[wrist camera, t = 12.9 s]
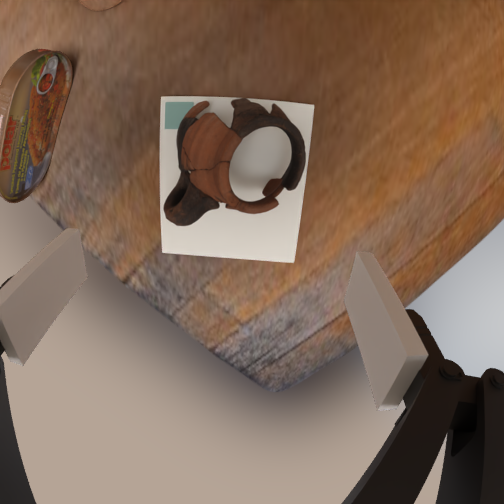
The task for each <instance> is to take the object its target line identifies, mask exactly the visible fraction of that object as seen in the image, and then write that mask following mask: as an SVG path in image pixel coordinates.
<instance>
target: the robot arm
mask: <svg viewBox="0 0 504 504" xmlns="http://www.w3.org/2000/svg"><path fill="white" fill-rule="evenodd" d="M87 278H88V276H87V270H86V265H85V260H84V255H83V249H82V243H81V237H80V230H79V229H72V228H67V229H65V230H64V231H63V232H62V233H61V234H60V235H58V236H57V237H56V238H55V239H54V240H53V241H51V242H50V243H49V244H48V245H47V246H46V247H45V248H43V249H42V250H41V251H40V252H39V253H38V254H37V255H36V256H35V257H33V258H32V259H31V260H30V261H29V262H28V263H27V264H26V265H25V266H24V267H23V268H22V269H20V271H18V272H17V273H16V274H15V275H14V276H12V277H10V278H9V279H7V280H6V281H5V282H4V283H3V284H2V286H1V287H0V504H36V502H35V499H34V497H33V494H32V491H31V488H30V485H29V482H28V479H27V476H26V473H25V469H24V466H23V462H22V459H21V455H20V452H19V447H18V443H17V439H16V435H15V431H14V426H13V421H12V417H11V411H10V405H9V399H8V393H7V386H6V378H5V370H4V362H3V359H2V357H1V355H2V353H3V352H4V350H5V352H6V354H7V356H8V358H9V360H10V361H11V362H14V363H16V364H20V365H22V366H23V365H24V364H25V362H26V361H27V359H28V358H29V356H30V355H31V353H32V352H33V350H34V349H35V347H36V346H37V345H38V343H39V342H40V340H41V339H42V337H43V336H44V335H45V333H46V332H47V330H48V329H49V328H50V326H51V325H52V323H53V322H54V320H55V319H56V318H57V316H58V315H59V314H60V313H61V311H62V310H63V309H64V307H65V306H66V305H67V303H68V302H69V300H70V299H71V298H72V297H73V296H74V294H75V293H76V292H77V290H78V289H79V288H80V286H81V285H82V284H83V283H84V282H85V280H86V279H87ZM344 303H345V306H346V309H347V312H348V315H349V318H350V321H351V324H352V327H353V330H354V333H355V336H356V340H357V343H358V346H359V349H360V352H361V356H362V359H363V362H364V365H365V369H366V372H367V376H368V379H369V383H370V386H371V390H372V393H373V397H374V401H375V404H376V408H377V410H378V411H380V410H391V409H397V407H398V406H399V404H400V402H401V401H402V399H403V400H404V403H405V406H406V408H405V410H404V411H403V413H402V414H401V416H400V417H399V418H398V420H397V421H396V423H395V427H394V428H393V430H392V432H391V433H390V435H389V437H388V438H387V440H386V441H385V443H384V445H383V446H382V448H381V449H380V451H379V452H378V454H377V455H376V457H375V458H374V460H373V461H372V463H371V465H370V466H369V467H368V469H367V470H366V472H365V473H364V475H363V476H362V477H361V479H360V480H359V481H358V483H357V484H356V486H355V487H354V488H353V490H352V491H351V492H350V494H349V495H348V496H347V497H346V499H345V500H344V501H343V503H342V504H414V502H415V500H416V498H417V497H418V495H419V493H420V491H421V489H422V487H423V485H424V483H425V481H426V479H427V477H428V475H429V473H430V471H431V469H432V467H433V464H434V462H435V460H436V458H437V456H438V453H439V451H440V449H441V446H442V444H443V441H444V439H445V437H446V434H447V441H446V450H445V456H444V463H443V469H442V475H441V481H440V486H439V491H438V495H437V500H436V504H504V373H503V372H502V371H500V370H498V369H495V368H490V369H487V370H486V371H485V372H484V373H483V375H482V376H481V378H479V377H473V376H467V375H465V374H464V372H463V370H462V369H461V367H460V366H459V365H458V364H456V363H455V362H453V361H451V360H448V359H444V356H443V355H442V353H441V351H440V349H439V347H438V345H437V344H436V342H435V340H434V338H433V336H432V335H431V332H430V331H429V329H428V328H427V325H426V324H425V322H424V320H423V318H422V317H421V316H420V315H418V313H416V312H415V311H414V310H411V309H404V307H403V305H402V303H401V301H400V300H399V298H398V296H397V294H396V292H395V291H394V289H393V287H392V285H391V284H390V282H389V280H388V278H387V277H386V275H385V273H384V272H383V270H382V268H381V267H380V265H379V263H378V261H377V260H376V258H375V257H374V255H373V253H372V252H363V251H356V256H355V260H354V264H353V268H352V272H351V276H350V280H349V283H348V287H347V291H346V295H345V298H344Z"/></svg>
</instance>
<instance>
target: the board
mask: <svg viewBox="0 0 504 504" xmlns="http://www.w3.org/2000/svg"><path fill="white" fill-rule="evenodd" d="M234 99H240V98H232V97H204V96H166V97H161V115H160V212H161V237H162V253H172V254H185V255H198V256H210V257H223V258H236V259H249V260H263V261H276V262H290V263H294V259H295V253H296V246H297V240H298V233H299V226H300V219H301V212H302V204H303V197H304V189H305V182H306V174H307V166H308V158H309V149H310V141H311V132H312V123H313V113H314V105H309V104H302V103H293V102H284V101H274V100H263V99H249V98H246V99H248V100H250V101H251V102H255V103H258V104H260V105H261V106H263V107H265V109H266V110H267V111H268V112H269V113H270V112H271V110H272V104H273V103H275V104H276V105H277V106H278V107H280V108H281V109H282V111H283V112H284V113H285V114H286V116H287V117H288V118H289V120H290V121H291V123H293V124H294V125H295V126H296V127H297V128H298V129H299V131H300V132H301V135H302V137H303V139H304V143H305V152H306V163H305V168H304V172H303V174H302V178H301V180H300V182H299V183H298V186H297V187H296V188H295V189H294V190H291V191H288V190H287V189H286V188H284V189H283V190H282V192H281V193H280V194H279V195H278V196H277V197H275V198H276V199H277V200H278V203H279V205H278V206H277V207H275V208H274V209H272V210H269V211H267V212H264V213H258V214H247V213H243V212H240V211H238V210H233V209H227V208H225V205H226V204H225V203H220V202H219V204H220V207H219V208H218V209H214V210H210V211H208V212H206V213H205V214H204V215H203V216H202V217H201V218H200V219H199V220H197V221H196V222H194V223H193V224H191V225H188V226H176V225H175V224H174V223H172V222H170V221H169V220H167V219H166V217H165V213H164V210H163V207H164V203H165V201H166V199H167V197H168V195H169V194H170V192H171V191H172V190H173V188H174V187H175V186H176V184H177V182H178V180H179V177H180V173H181V171H180V169H179V167H178V165H179V163H178V150H177V144H176V138H177V131H178V128H179V125H180V123H181V121H182V119H183V118H184V116H185V115H186V113H187V112H188V111H189V110H190V109H191V108H192V107H193V106H195V105H196V104H197V103H199V102H202V101H208V102H209V103H210V105H209V106H208V107H207V108H206V109H204V110H203V111H202V112H200V113H199V114H198V115H197V116H196V117H195V118H197V119H199V118H200V117H201V116H202V115H203V114H205V113H212V112H214V113H215V114H216V115H217V116H218V117H219V118H220V119H221V121H222V122H224V123H225V124H226V125H227V126H228V127H229V128H230V127H231V124H232V120H233V112H234V108H233V107H232V105H231V101H232V100H234ZM291 153H292V151H291V143H290V140H289V137H288V136H287V134H286V133H285V132H284V131H283V130H281V129H280V128H278V127H271V126H270V127H263V128H259V129H257V130H255V131H253V132H252V133H250V134H249V135H247V136H246V137H244V138H243V140H242V141H241V143H240V144H239V146H238V147H237V149H236V150H235V152H234V154H233V157H232V159H231V161H230V168H229V180H230V185H231V188H232V190H233V192H234V194H235V195H236V196H237V197H238V198H240V199H242V200H244V201H257V200H260V199H262V198H264V197H265V196H264V195H263V194H262V191H263V189H264V187H265V185H266V184H267V183H268V181H269V180H270V179H276V178H282V176H283V174H284V173H285V171H286V170H287V168H288V166H289V164H290V161H291ZM189 173H190V171H189Z"/></svg>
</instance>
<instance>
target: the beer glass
mask: <svg viewBox="0 0 504 504" xmlns="http://www.w3.org/2000/svg"><path fill="white" fill-rule="evenodd" d="M78 1H79V2H80V3H81V4H82V5H84V6H85V7H86V8H88V9H90V10H93V11H102V10H106V9H109V8H112V7H114V6H116V5H117V4H119V3H120V2H121V1H123V0H78Z"/></svg>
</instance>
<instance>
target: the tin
mask: <svg viewBox="0 0 504 504" xmlns="http://www.w3.org/2000/svg"><path fill="white" fill-rule="evenodd" d="M71 84H72V65H71V62H70V60H69V58H68V57H67V56H66V55H65V54H64V53H62V52H60V51H51V50H46V49H37V50H32V51H30V52H27V53H26V54H24V55H22V56H21V57H20V58H19V59H18V60H17V61H16V62H15V63H14V64H13V65H12V66H11V67H10V69H9V70H8V71H7V73H6V75H5V76H4V78H3V80H2V83H1V85H0V196H1V197H2V198H3V199H4V200H5V201H7V202H9V203H17V202H20V201H22V200H24V199H25V198H27V197H28V196H29V195H30V194H31V193H32V192H33V191H34V190H35V189H36V187H37V186H38V185H39V183H40V182H41V180H42V179H43V177H44V175H45V173H46V171H47V169H48V167H49V164H50V161H51V158H52V154H53V149H54V145H55V141H56V137H57V133H58V129H59V125H60V121H61V118H62V114H63V111H64V108H65V104H66V101H67V98H68V95H69V92H70V88H71Z"/></svg>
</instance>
